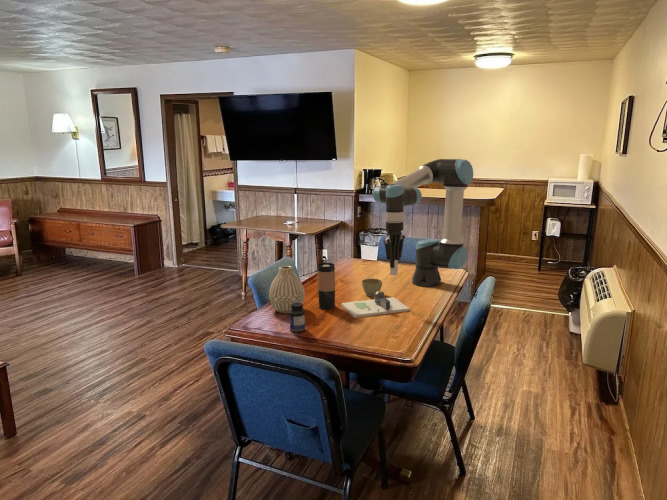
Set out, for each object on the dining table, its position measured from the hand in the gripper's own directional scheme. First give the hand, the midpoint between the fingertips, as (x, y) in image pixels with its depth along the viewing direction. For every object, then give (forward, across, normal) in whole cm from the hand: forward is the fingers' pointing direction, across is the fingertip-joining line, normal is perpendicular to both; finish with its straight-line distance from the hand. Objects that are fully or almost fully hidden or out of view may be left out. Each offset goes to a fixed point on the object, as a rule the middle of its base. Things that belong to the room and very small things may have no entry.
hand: (393, 274), depth 212 cm
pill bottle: (+17, +45, -15) cm, 50 cm away
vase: (+17, +31, -36) cm, 50 cm away
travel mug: (+17, +17, -25) cm, 34 cm away
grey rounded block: (+14, +2, -5) cm, 15 cm away
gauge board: (+16, +4, -8) cm, 18 cm away
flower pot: (+17, -11, -21) cm, 29 cm away
